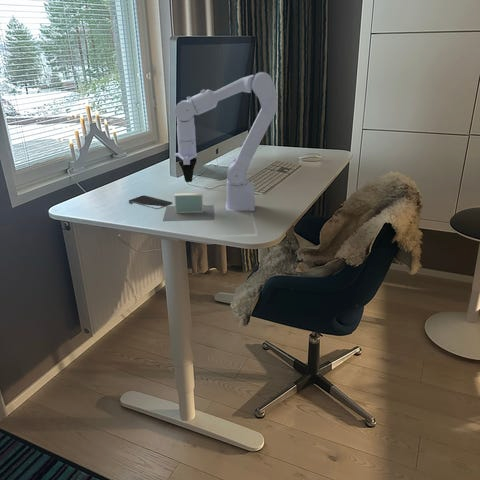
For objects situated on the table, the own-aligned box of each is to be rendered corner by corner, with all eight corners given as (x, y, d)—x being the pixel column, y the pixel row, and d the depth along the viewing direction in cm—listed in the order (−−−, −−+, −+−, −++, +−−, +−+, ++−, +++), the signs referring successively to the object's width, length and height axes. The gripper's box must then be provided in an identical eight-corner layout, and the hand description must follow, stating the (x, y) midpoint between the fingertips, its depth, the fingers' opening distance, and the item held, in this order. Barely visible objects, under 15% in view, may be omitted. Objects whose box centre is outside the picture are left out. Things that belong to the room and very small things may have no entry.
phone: (157, 209, 151) (127, 200, 160) (157, 212, 152) (127, 203, 160) (174, 202, 157) (143, 194, 165) (174, 205, 158) (144, 197, 166)
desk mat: (213, 206, 155) (213, 205, 155) (214, 221, 142) (214, 219, 142) (166, 207, 154) (166, 206, 154) (162, 222, 142) (162, 221, 141)
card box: (203, 210, 150) (202, 193, 148) (203, 212, 149) (202, 194, 146) (175, 211, 150) (174, 193, 147) (175, 212, 148) (174, 195, 146)
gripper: (175, 135, 152) (178, 175, 157) (172, 144, 138) (175, 187, 144) (196, 135, 152) (198, 174, 157) (195, 144, 139) (197, 187, 144)
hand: (188, 181), depth 151 cm, fingers closed
